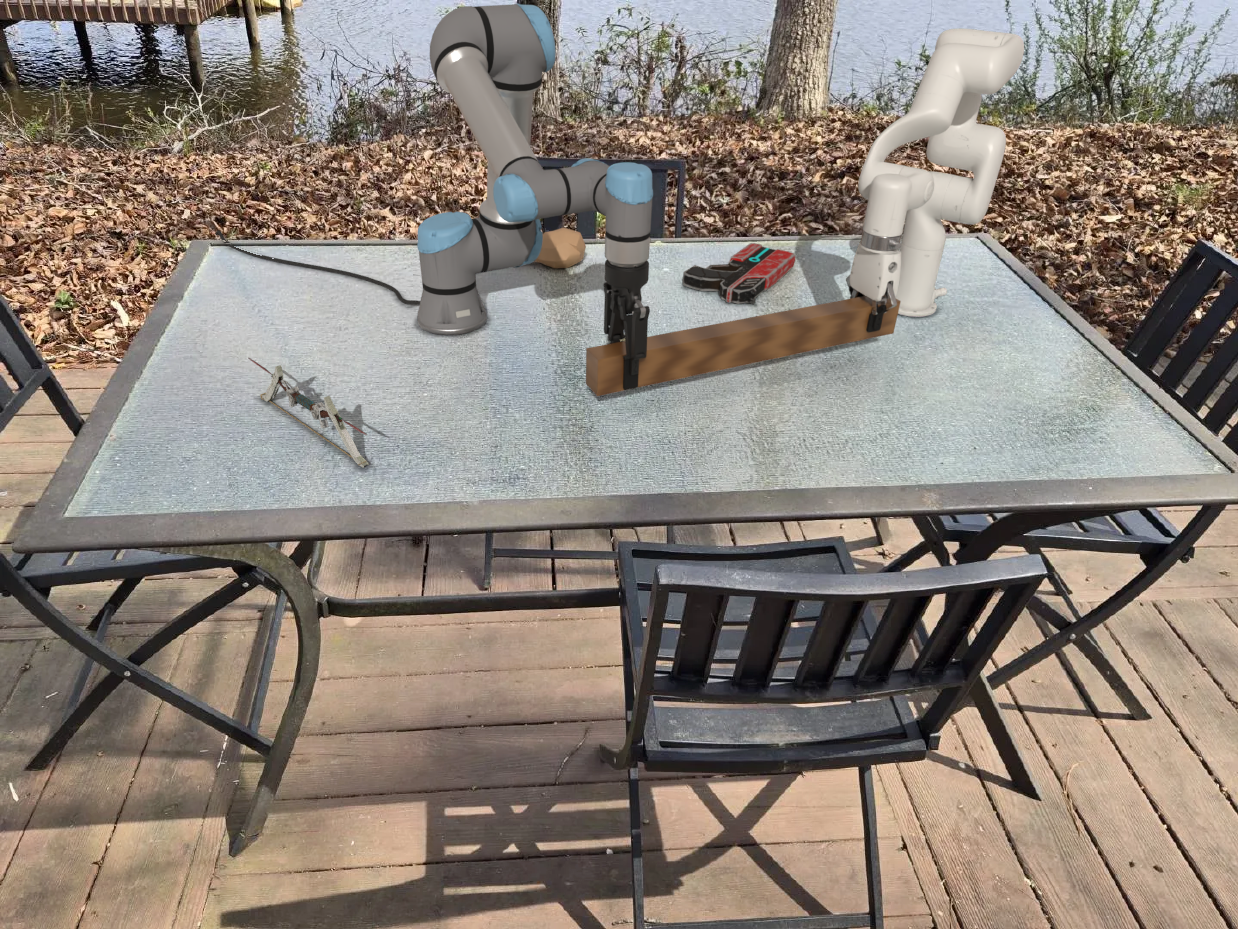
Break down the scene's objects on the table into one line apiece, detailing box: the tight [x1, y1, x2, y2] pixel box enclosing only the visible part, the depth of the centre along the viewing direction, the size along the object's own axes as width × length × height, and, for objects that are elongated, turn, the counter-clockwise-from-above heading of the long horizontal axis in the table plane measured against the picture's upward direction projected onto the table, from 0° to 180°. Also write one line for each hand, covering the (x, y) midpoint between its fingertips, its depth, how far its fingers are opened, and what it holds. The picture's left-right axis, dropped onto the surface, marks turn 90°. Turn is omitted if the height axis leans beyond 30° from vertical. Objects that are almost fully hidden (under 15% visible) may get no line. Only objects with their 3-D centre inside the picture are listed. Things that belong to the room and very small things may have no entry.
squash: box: [533, 227, 587, 269], centre depth 226 cm, size 11×20×9 cm, turn 90°
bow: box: [247, 356, 370, 468], centre depth 154 cm, size 39×2×10 cm, turn 47°
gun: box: [682, 242, 796, 305], centre depth 221 cm, size 4×31×19 cm
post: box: [585, 296, 901, 397], centre depth 170 cm, size 69×5×7 cm, turn 116°
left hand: (623, 380), depth 161 cm, fingers closed on post, 5 cm apart
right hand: (864, 324), depth 182 cm, fingers closed on post, 5 cm apart
